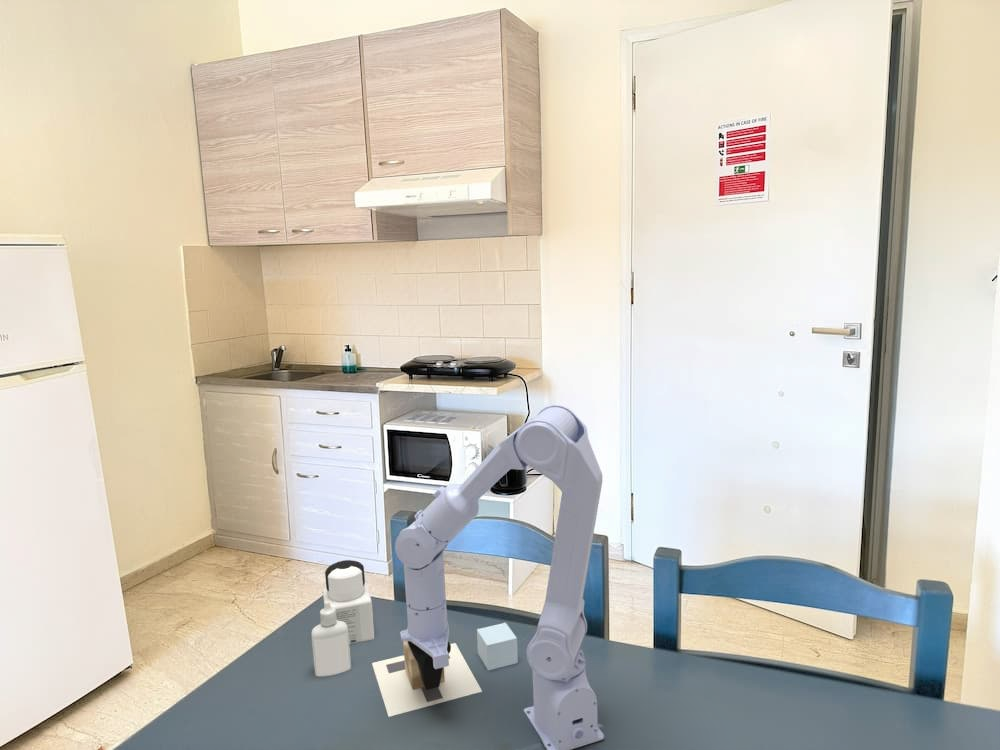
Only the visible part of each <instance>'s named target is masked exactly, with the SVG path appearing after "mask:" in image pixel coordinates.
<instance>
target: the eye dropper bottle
mask: <svg viewBox="0 0 1000 750" xmlns="http://www.w3.org/2000/svg"><path fill="white" fill-rule="evenodd" d="M319 619H320V623H319V624H317V625H316V626H314V627H313V628H312V630H311V632H310V633H311V645H312V656H313V657H312V658H313V666H314V668H313V669H314V675H315V677H329V676H335V675H338V674H342V673H344V672H347V671H349V670H351V669H352V659H351V649H350V648H351V647H350V644H349V635H348V628H347V624H346V623H345V622H343V621H338V620H337V618H336V609H335V608H334V607H331V606H330V602H329V601H326V602H325V605H324V604H323V608H322V609H320V611H319Z"/></svg>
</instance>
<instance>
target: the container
mask: <svg viewBox="0 0 1000 750" xmlns="http://www.w3.org/2000/svg"><path fill="white" fill-rule="evenodd" d="M324 577H325V586H326V588H323V590H322V594H323V595H322V596H323V598H322V599H323V606H324V605H325V602H326V601H329V602H330V606H331V607H334V608H335V609H336V618H337V620H338V621H343V622H345V623H346V624H347V628H348V635H349V645H351V644H356V643H359V642H360V643H361V642H364V641H365V642H366V641H371V640H374V639H375V627H374V614H373V602H372V597H371V594H370V593H371V592H370V590H369V586H368V582H367V581H366V579H365V567H364V565H363V564H362V562H359V561H357V560H351V559H346V560H339V561H337V562H335V563H332V564H331V565H329V566H328V567H327V568H326V569H325V571H324Z"/></svg>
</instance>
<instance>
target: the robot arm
mask: <svg viewBox="0 0 1000 750" xmlns="http://www.w3.org/2000/svg"><path fill="white" fill-rule="evenodd" d="M528 466H529V467H530V468H532V469H533V470H534V471H536V472H538V473H540V475H542V476H544V477H545V478H547V479H549V480H551V481H552V482H553V483H554V484H555V486H556V487H557V488H558V489H559V490H560V491H561V496H560V497H561V498H560V504H559V510H558V518H557V522H556V530H555V535H554V542H553V547H552V548H553V549H552V554H551V560H550V561H551V562H550V568H549V574H548V580H547V587H546V595H545V599H544V600H545V601H544V603H543V607H542V611H541V613H540V616H539V621H538V623H537V627H536V632H535V634H534V636H533V637H532V638H531V640H530V641H529V643H528V645H527V647H526V652H525V653H526V659H527V661H528V665H529V666H530V668H531V669H532V690H533V691H532V693H533V694H532V695H533V697H532V698H533V705H532V706H528V707H525V708H523V712H524V713H525V715H526V716H527V717H528V719H529V721H530V723H531V724H532V726H533V727H534V729H535V731H536V732H537V734H538V736H539V737H540V739H541V740H542V741H541V743H542V744H543V746H544V748H545V749H546V750H573V749H577V748H581V747H584V746H587V745H589V744H593V743H597V742H600V741H602V740H604V739H605V734H604V733H603V732H602V730H601V729H600V727H599V725H598V723H599V722H598V698H597V695H596V693H595V691H594V690H593V689H592V687H591V686H590V683H589V681H588V677H587V674H586V659H585V655H584V652H583V649H582V647H581V644H582V642H583V640H584V639H585V637H586V635H587V632H588V622H587V618H586V616H585V613H584V612H585V611H584V609H585V602H586V601H585V600H584V598H583V597H584V594H585V593H584V592H585V586H586V579H587V574H588V570H589V569H588V568H589V563H590V558H591V552H592V546H593V545H592V544H593V540H594V539H593V538H594V533H595V527H596V521H597V516H598V515H597V514H598V511H599V504H600V498H601V491H602V485H603V473H602V470H601V467H600V465H599V463H598V460H597V457H596V455H595V452H594V450H593V447H592V445H591V442H590V440H589V435H588V428H587V425H586V424H585V423H584V422H583V421H582V420H581V419H580V418H579V417H578V416H577V414H575V412H574V411H573V410H571V409H570V408H568V407H566V406H564V405H560V404H551V405H549V406H546V407H544V408H542V409H541V410H540V411H539V412H538V413H537V415H536V416H535V417H533V418H531V419H529V420H527V422H525V423H524V424H522V425H521V426H520V427H518V428H517V429H516V430H514V431H513V432H512V433H510V434H509V435H508V436H506V437H505V438H504V439H502V440H501V441H500V442H499V443H497V445H495V446H494V448H493V449H492V450H491V451H490V452H489V454H488V455H487V456H486V457H485V458H484V460H482V462H480V463H479V465H478V466H477V467H476V468H475V470H473V471H472V473H471V474H470V475H469V476H467V478H466V479H465V481H464V482H463V483H450V484H448V485H447V486H446V487H444V486H440V487H439V488H438V489H437V490H436V491H435V492H434V493H433V494H432V496H433V497H434V499H433V500H432V502H430V503H429V505H428V506H427V507H426V508H424V509H423V510H422V509H420V510H419V511H417V513H416V514H414V519H415V521H413V522H412V523H411V524H410V525H409V526H407V527H406V528H403V529H402V530H400V532H399V534H398V536H397V538H396V540H395V543H394V550H395V554H396V556H397V558H398V559H399V561H400V562H401V563H402V565H403V572H404V574H403V575H404V588H405V589H404V590H405V601H406V603H405V604H406V614H407V615H406V617H407V618H406V619H407V628H406V629H404V630H401V631H400V632H399V635H400V636H399V637H400V640H401V642H408V645H409V647H410V649H411V652H412V654H413V656H414V658H415V659H416V661H417V663H418V667H419V671H420V675H421V679H422V682H423V684H424V686H425V689H426V690H429V689H433V688H437V687H439V685H440V681H441V676H442V670H443V667H446V666H449V657H448V654H449V653H450V650H451V645H450V644H451V643H450V641H449V638H450V637H449V635H450V625H449V624H448V611H447V608H448V607H447V595H446V592H447V591H446V578H445V577H446V576H445V574H446V573H445V561H444V551H445V549H446V548H447V547H448V545H449V544H450V543H451V542H452V541H453V540H454V539H455V538H456V537H457V536H458V534H459V535H460V533H461V532H462V531H463V530H464V528H466V527H467V526H468V525H469V524H470V522H472V521H473V520H474V519H475V518H476V517H477V515H478V514H479V508H480V507H479V500H480V499H481V498H482V497H483V495H485V494H486V493H487V492H488V491H489V490H490V489H492V487H494V485H495V484H496V483H498V482H499V481H500V479H501V478H503V476H505V475H506V474H507V473H508V472H510V470H520V471H522V470H525V469H526V468H527V467H528ZM528 712H529V713H528Z"/></svg>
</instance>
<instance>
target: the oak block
mask: <svg viewBox="0 0 1000 750" xmlns="http://www.w3.org/2000/svg"><path fill="white" fill-rule="evenodd" d="M402 642H403V641H402ZM402 644H403V655H404V658H405V672H406V674H407V677H408V679H409V682H410V684H411V687H412V690H414V689H418V688H422V687H425V686H424V684H423V682H422V679H421V675H420V671H419V667H418V663H417V661H416V659H415V658H414V656H413V654H412V652H411V649H410V647H409V645H408V642H403V643H402ZM441 682H445V676H444V667H443V670H442V676H441V681H440V683H441Z"/></svg>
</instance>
